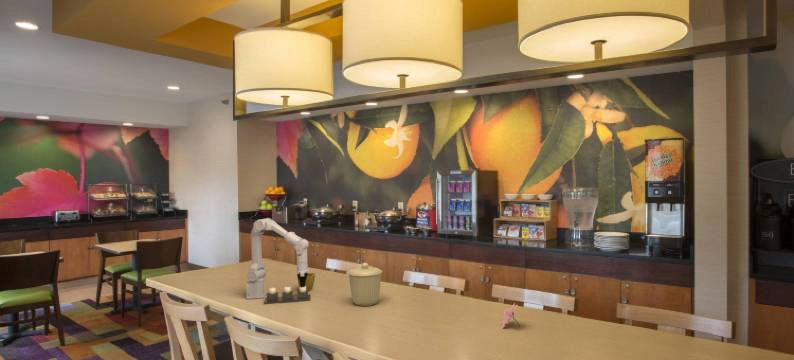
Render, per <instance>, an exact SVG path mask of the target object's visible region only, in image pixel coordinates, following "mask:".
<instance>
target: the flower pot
mask: <svg viewBox="0 0 794 360" xmlns="http://www.w3.org/2000/svg"><path fill="white" fill-rule="evenodd" d="M307 273H308V276H307V278H306V282H305V286H306V290H308V292H309V291H312V289H313V287H314V285H315V279H316V273H315V272H307ZM296 278H297V284H298V288H299V287H301V286H300V281H299V278H298V276H297V277H296Z"/></svg>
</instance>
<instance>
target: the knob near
mask: <svg viewBox="0 0 794 360" xmlns="http://www.w3.org/2000/svg"><path fill="white" fill-rule="evenodd" d="M276 289H277V288H276V286H275V287H268V293H269V295H276V292H277V290H276Z"/></svg>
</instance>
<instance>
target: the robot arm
mask: <svg viewBox="0 0 794 360" xmlns="http://www.w3.org/2000/svg"><path fill="white" fill-rule="evenodd" d="M266 231H273V232H275V233H276V234H278V235H280V236H281V237H284V241H285V242H287V243H288V244H290V245H291V246H293V247H294V250H295V253H296V273H297V274H296V276H297V277H298V278H299V281H300V286H301V287H305V282H306V278H307V276H308V273H309V272H310V271H311V270H310V269H309V268H308V267H309V265H308V248H309V247H310V246H309V244H310V243H309V241H308V240H307V239H306V238H302V237H300V236H298V235H296V233H295V232H294V231H289V232H288V230H286V229H285V228H283V227H282V226H281V225H279V224H278V223H277V222H276V221H275V220H273V219H272V218H270V217H266V218H262V219H257V220H256V221H254V222H253V227H252V228H251V231H250V247H251V248H250V249H251V251H250V252H251V263H250V264H251V265H250V266H249V267H248V272H247V279H248V280H249V281H246V284H245V286H246V290H245V291H246V292H245V293H246V295H245V296H246V297H245V299H246V300H249V299H264V298H266V293H265V277H266V275H267V272H266V271H267V270H266V268H265V265H264V263H263V257H262V256H263V255H262V254H263V253H262V252H263V251H262V248H263V247H262V235H263V234H265V232H266ZM298 278H297V279H298Z"/></svg>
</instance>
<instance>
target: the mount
mask: <svg viewBox="0 0 794 360" xmlns="http://www.w3.org/2000/svg"><path fill="white" fill-rule="evenodd" d="M264 298H265V299H264V300H263V301H264V302H263V305H272V304H273V305H274V304H284V303H285V304H287V303H299V302H300V303H301V302H311V301H312V299H311V294H310V293H309V291H308V290H306V292H305V293H299V290H297V295H294V291H293V290H291V293H290V294H284V291H282V293H281V295H280V296H279V292H278V291H276V295H269V292H267V293H266V296H265V297H264Z"/></svg>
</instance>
